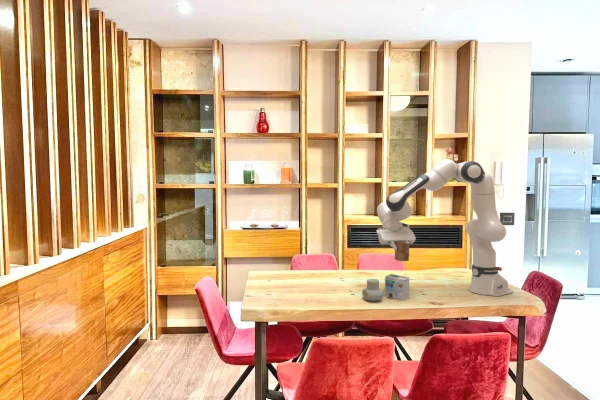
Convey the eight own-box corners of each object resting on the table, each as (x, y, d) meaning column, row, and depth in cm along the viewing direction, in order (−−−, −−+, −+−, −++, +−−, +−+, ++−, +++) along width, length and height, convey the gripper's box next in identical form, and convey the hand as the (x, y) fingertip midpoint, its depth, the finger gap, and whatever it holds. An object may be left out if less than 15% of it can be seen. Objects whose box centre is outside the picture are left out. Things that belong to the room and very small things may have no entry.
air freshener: (360, 297, 192) (360, 278, 191) (375, 296, 194) (375, 276, 193) (370, 303, 181) (370, 283, 181) (385, 302, 183) (385, 282, 183)
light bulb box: (384, 296, 193) (384, 275, 193) (390, 293, 198) (391, 273, 198) (403, 300, 186) (403, 279, 185) (409, 297, 191) (409, 277, 190)
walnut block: (403, 258, 194) (403, 241, 194) (408, 260, 189) (409, 243, 189) (394, 259, 192) (395, 241, 192) (400, 261, 188) (400, 243, 187)
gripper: (377, 224, 194) (386, 246, 185) (411, 224, 200) (421, 245, 191) (372, 232, 198) (381, 253, 189) (406, 231, 205) (416, 252, 196)
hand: (402, 249), depth 191 cm, fingers closed on walnut block, 5 cm apart
